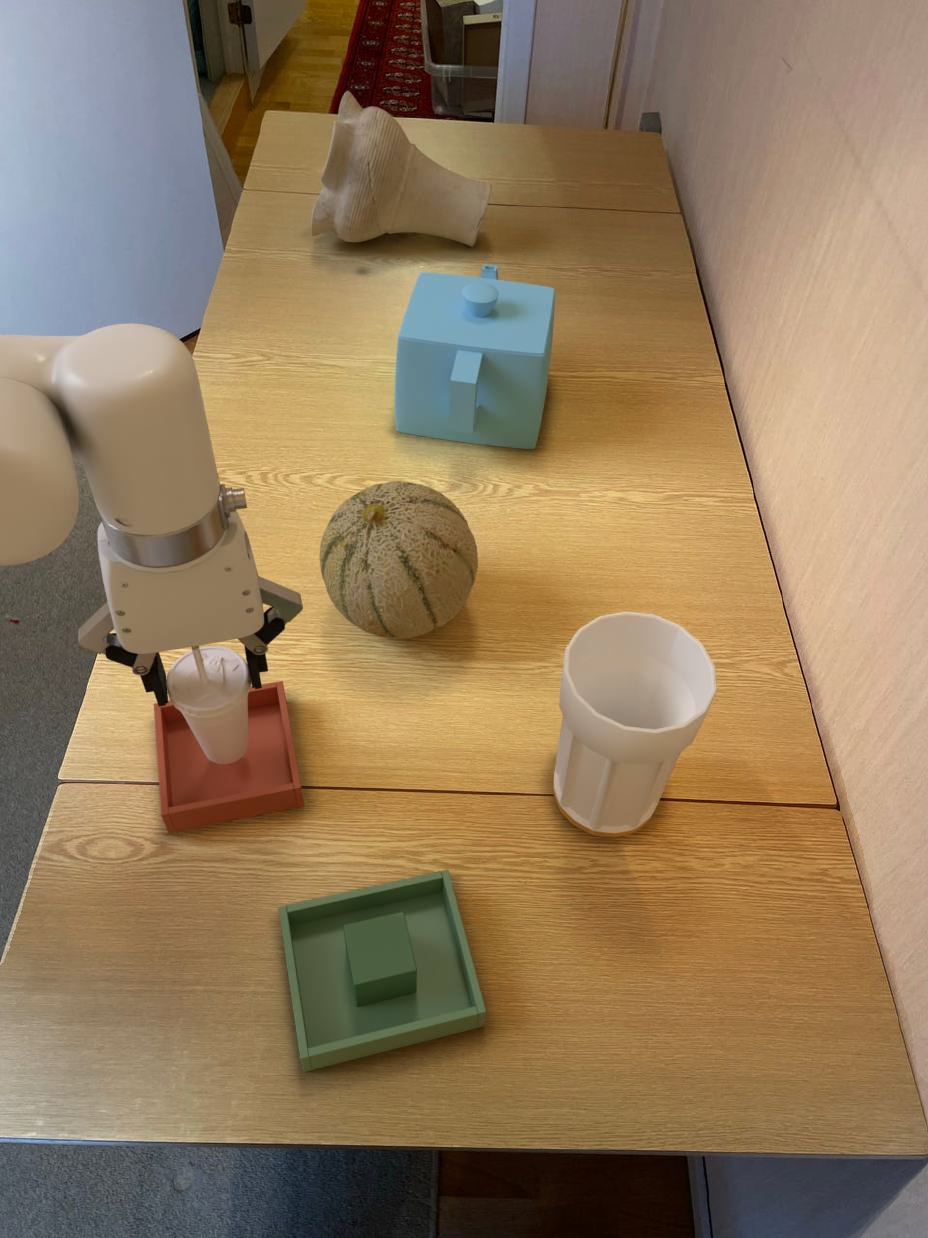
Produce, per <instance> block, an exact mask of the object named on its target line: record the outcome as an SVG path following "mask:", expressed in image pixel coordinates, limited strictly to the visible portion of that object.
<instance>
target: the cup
mask: <svg viewBox="0 0 928 1238" xmlns="http://www.w3.org/2000/svg"><path fill="white" fill-rule="evenodd" d="M561 669H562V670H561V676H560V683H559V684H560V685H559V703H558V704H559V705H558V707H559V709H560V711H561V714H562V717H561V724H560V725H561V726H560V733H559V737H558V738H559V739H558V740H559V741H558V746H557V752H556V759H555V765H554V773H553V780H552V793H553V797H554V800H555V803H556V805H557V808H558V810H559V811H560V813H561V814H562V815H563V816H564V817H565V819H567V821H569V822H570V823H571V824H572V825H573V826H575V827H576V828H578V829H579V830H581V831H583V832H585V833H588V834H589V835H592V836H594V837H595V836H596V837H602V838H619V837H625V836H629V835H632V834H635V833H636V832H638V831H640V830H641V829H642V828H643V827H644V826H645V825H647V824H648V823H649V822H650V820H651V818H652V817H653V815H654V813H655V811H656V809H657V807H658V804H659V802H660V801H661V798H662V796H663V794H664V791H665V789H666V786H667V784H668V782H669V780H670V778H671V775H672V773H673V771H674V769H675V766H676V765H677V762H678V760H679V758H680V756H681V753H682V752H684V751H685V750H686V749H688V747H690V746H692V744H693V742H694V740H695V738H696V736H697V735H698V733H699V731H700V729H701V727H702V725H703V723H704V721H705V719H706V716H707V714H708V712H709V710H710V708H711V705H712V704H713V702H714V699H715V697H716V695H717V693H718V686H717V685H718V684H717V671H716V670H717V669H716V666H715V664H714V662H713V660H712V658H711V656H710V655H709V652H708V651H707V649H706V647H705V646H704V644H703V643H702V642H701V641H700V640H699V639H697V638H696V637H695V636H693V634H692V633H690V632H689V631H688V630H687V629H686V628H684V627H683V626H682V625H681V624H677V623H675V622H673V621H671V620H669V619H666V618H664V617H661V616H659V615H657V614H653V613H643V612H635V611H628V610H627V611H626V610H625V611H620V612H616V613H609V614H605V615H599V616H598V617H596V618H595V619H593V620H591V621H590V622H588V623H587V624H585V625H584V626H582V627H580V628H578V629H577V630H576V632H575V634H574V635H573V637H572V638H571V639H570V641H569V643H568V644H567V646H566V647H565V649H564V655H563V663H562V668H561Z"/></svg>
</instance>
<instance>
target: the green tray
mask: <svg viewBox="0 0 928 1238" xmlns="http://www.w3.org/2000/svg"><path fill="white" fill-rule="evenodd" d="M399 912H404V915H405V920H406V924H407V928H408V933H409V937H410V941H411V946H412V950H413V954H414V959H415V963H416V967H417V992H416V993H413V994H409V995H405V996H401V997H397V998H392V999H388V1000H384V1001H380V1002H376V1003H372V1004H368V1005H364V1006H360V1007H357V1006H356V1001H355V995H354V990H353V984H352V979H351V974H350V968H349V963H348V958H347V952H346V945H345V938H344V930H343V925H346V924H351V923H355V922H359V921H364V920H368V919H373V918H377V917H381V916H386V915H390V914H395V913H399ZM278 914H279V922H280V929H281V934H282V942H283V950H284V956H285V962H286V970H287V976H288V983H289V990H290V996H291V1005H292V1010H293V1012H292V1013H293V1018H294V1023H295V1032H296V1038H297V1039H296V1040H297V1045H298V1053H299V1059H300V1063H301V1067H302V1071H303V1072H304V1073H307V1072H311V1071H314V1070H319V1069H322V1068H326V1067H329V1066H334V1065H337V1064H338V1065H339V1064H341V1063H345V1062H349V1061H353V1060H357V1059H361V1058H365V1057H368V1056H372V1055H377V1054H381V1053H384V1052H389V1051H392V1050H396V1049H400V1048H405V1047H407V1046H411V1045H412V1046H413V1045H416V1044H420V1043H424V1042H428V1041H431V1040H436V1039H440V1038H444V1037H447V1036H451V1035H456V1034H459V1033H463V1032H467V1031H471V1030H474V1029H479V1028H482V1027H485V1023H486V1017H487V1008H486V1003H485V1001H484V997H483V993H482V990H481V986H480V983H479V977H478V973H477V971H476V967H475V963H474V959H473V956H472V952H471V949H470V945H469V941H468V937H467V934H466V930H465V926H464V922H463V919H462V915H461V911H460V907H459V903H458V900H457V896H456V891H455V888H454V884H453V881H452V877H451V874H450V870H449V869H445V870H444V869H443V870H441V871H440V870H439V871H434V872H429V873H426V874H421V875H416V876H413V877H408V878H403V879H399V880H394V881H390V882H385V883H381V884H377V885H372V886H368V887H367V886H366V887H363V888H357V889H354V890H349V891H344V892H341V893H340V892H339V893H335V894H332V895H326V896H322V897H317V898H313V899H309V900H304V901H300V902H295V903H291V904H286V905H282V906H278Z"/></svg>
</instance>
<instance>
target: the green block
mask: <svg viewBox="0 0 928 1238" xmlns="http://www.w3.org/2000/svg"><path fill="white" fill-rule="evenodd" d="M343 930H344V938H345V945H346V952H347V958H348V963H349V968H350V974H351V979H352V984H353V990H354V995H355V1001H356V1006H357V1007H360V1006H364V1005H368V1004H372V1003H376V1002H380V1001H384V1000H388V999H392V998H397V997H401V996H405V995H409V994H413V993H416V992H417V967H416V963H415V959H414V954H413V950H412V946H411V941H410V937H409V933H408V928H407V924H406V920H405V915H404V912H399V913H395V914H390V915H386V916H381V917H377V918H373V919H368V920H364V921H359V922H355V923H351V924H346V925H343Z"/></svg>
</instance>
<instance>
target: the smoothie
mask: <svg viewBox="0 0 928 1238" xmlns="http://www.w3.org/2000/svg"><path fill="white" fill-rule="evenodd" d="M190 648H191V650H189V651H187V652H185V653H184V654H183V655H181V656H180V657H179V658H177V660H175V661H174V662H173V664H172V665H171V666H170V668H169V670H168V672H167V674H166V686H167V692H168V699H169V701H171V702H172V704H173V705H174V706H175V708H177V709H178V710H179V711H181V713H182V714H183V716H184V718H185V719H186V721H187V723H188V725H189V726H190V728H191V730H192V732H193V733H194V735H195V737H196V739H197V741H198V742H199V744H200V746H201V748H202V749H203V751H204V753H205V755H206V756H207V758H208V759H209V760H211V761H212V762H214V763H217V764H229V763H233V762H235V761H237V760H239V759H240V758H241V757H242V756H243V755H244V754H245V752H246V751H247V748H248V693H249V690H250V686H252V684H251V679H250V674H249V670H248V665H247V660H246V659H245V658H244V657H243V656H242V655H241V654H240V653H239V652H237V651H235V650H234V649H232V648H229V647H226V646H222V645H221V646H220V645H206V646H205V645H204V646H201V647H200V646H194V647H190Z"/></svg>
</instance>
